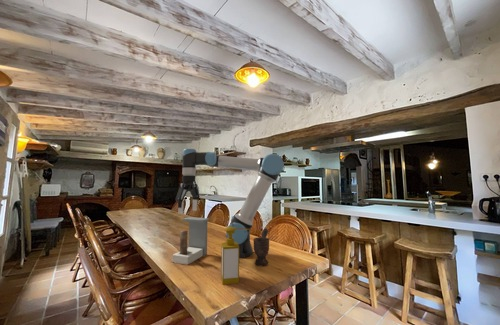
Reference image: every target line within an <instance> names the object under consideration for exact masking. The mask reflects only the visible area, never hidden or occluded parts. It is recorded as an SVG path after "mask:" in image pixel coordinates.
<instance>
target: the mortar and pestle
mask: <svg viewBox="0 0 500 325" xmlns="http://www.w3.org/2000/svg"><path fill="white" fill-rule="evenodd" d="M268 234H269V229H268V228H263V229H262V234H261V236H259V237H258V236H257V237H254V238H253V250H254V254H255V255H256V257H257V258H256V259H255V260H254V264H255V266H262V267H265V266H267V265H269V261H268V259H267V258H266V257H267V255H268V253H269V250H270V238H269V237H267V236H268Z"/></svg>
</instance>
